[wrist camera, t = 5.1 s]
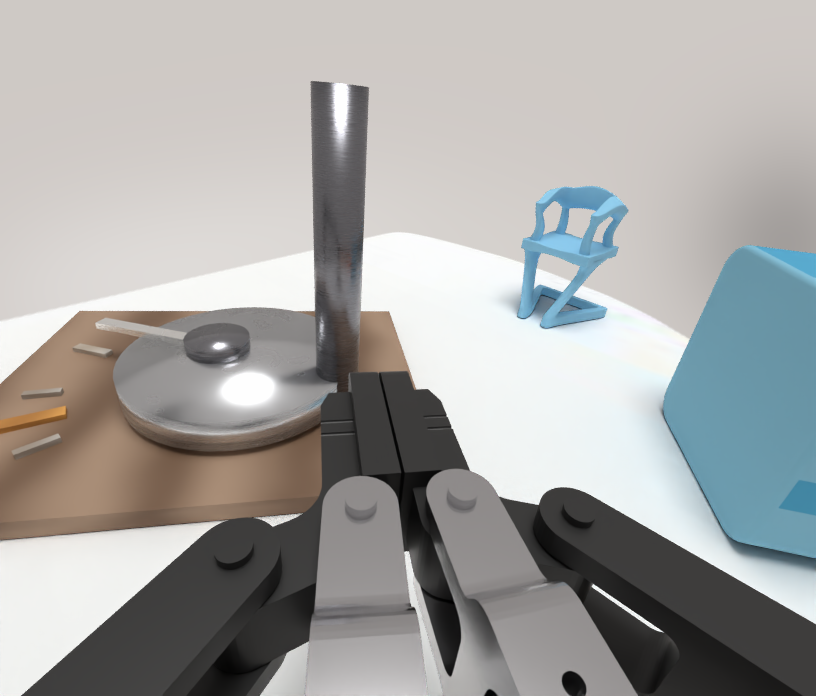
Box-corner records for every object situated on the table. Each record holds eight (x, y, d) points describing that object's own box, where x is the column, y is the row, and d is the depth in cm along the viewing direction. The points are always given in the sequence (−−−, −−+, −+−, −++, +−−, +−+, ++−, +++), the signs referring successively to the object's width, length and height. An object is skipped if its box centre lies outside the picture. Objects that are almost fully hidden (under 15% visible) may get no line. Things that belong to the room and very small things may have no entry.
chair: (496, 309, 43) (522, 182, 37) (539, 291, 49) (567, 178, 43) (568, 338, 39) (610, 199, 33) (605, 316, 44) (647, 193, 38)
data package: (842, 580, 20) (1059, 350, 14) (734, 557, 20) (899, 326, 14) (725, 419, 30) (821, 249, 24) (656, 407, 31) (734, 237, 25)
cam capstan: (9, 409, 22) (-162, 31, 15) (176, 311, 34) (129, 67, 26) (313, 479, 20) (302, 74, 12) (384, 349, 31) (401, 94, 24)
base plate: (-152, 553, 17) (-171, 531, 16) (83, 322, 34) (78, 307, 33) (446, 499, 22) (450, 480, 21) (388, 321, 39) (389, 308, 38)
